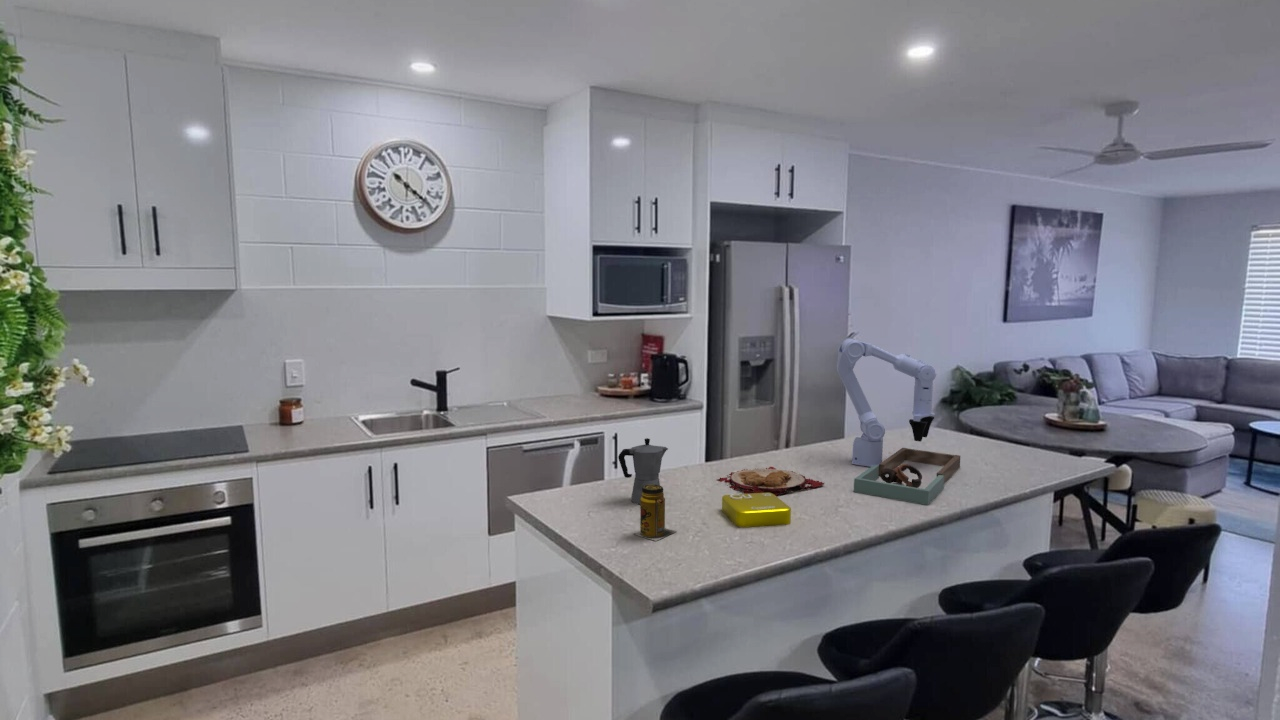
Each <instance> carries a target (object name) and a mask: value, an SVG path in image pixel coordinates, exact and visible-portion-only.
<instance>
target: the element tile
mask: <svg viewBox="0 0 1280 720" xmlns="http://www.w3.org/2000/svg"><path fill="white" fill-rule="evenodd" d="M721 512H722V513H723V514H724V515H725V516H726V517H727V518H728V519H729V520H730V521H731V522H732V523H733V525H734V526H736V527H738V528H759V527H772V526H787V525H790V524H791V523H792V522H791V521H792V519H791V517H792V508H791V507H790V505H788V504H786V503H785V502H784V501H783V500H782V499H780V498H779V497H778V496H775V495H774V494H772V493H750V494H746V493H733V494H723V496H722V497H721Z"/></svg>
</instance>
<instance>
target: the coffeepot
mask: <svg viewBox="0 0 1280 720" xmlns="http://www.w3.org/2000/svg"><path fill="white" fill-rule="evenodd" d="M650 442H651V438H647V437H646V438H644V444H640V445H637V446H633V447H630V448H624V449H622V451H621V452H620V453H619V455H618V457H617V458H618V462H619V464H620V467H621V469H622V473H623V475H624V478H627V479H628V478H632V476H633V473H628V467H627V464H626V463H627V462H626V459H625V457H626V456H631V457H632V461H633V469H634V474H635V476H634V480H633V486H632V492H631V497H630V498H631V503H633V504H636V505H639V506H641V505H640V501H641V497H642V487H643V486H645V485H660V486H661V483H660V476H659V474H660V473H661V467H662V461H663V460H662V459H663V457H664V455H665V453H666V452H667V451H668V450H669V448H668V447H666V446H662V445H653V444H650Z"/></svg>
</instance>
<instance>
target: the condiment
mask: <svg viewBox="0 0 1280 720" xmlns="http://www.w3.org/2000/svg"><path fill="white" fill-rule="evenodd" d="M664 496H665V495H664V487H663V486H662V485H661V484H660V485H645V486H643V487H642V497H641V501H640V505H639V506H640V509H639V510H640V517H639V519H640V522H639V523H640V525H639V526H640V527H639V529H640V531H637V532H634V535H635V536H638V537H641V538H643V539H648V540H652V541H654V542H657V541H660V540H662V539H664V538H666V537H668V536H669V535H672V534H674V533H676V532H677V530H673V529H670V528H666V523H665V522H666V498H665V497H664Z"/></svg>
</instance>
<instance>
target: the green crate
mask: <svg viewBox="0 0 1280 720" xmlns="http://www.w3.org/2000/svg"><path fill="white" fill-rule="evenodd" d="M879 477H880V476H879V466H878V465H873V466H872V467H868V468H867V469H866V470H865V471H863V472H862V473H860V474H859V475H857V476H856V477H854V479H853V492H854V493H859V494H865V495H870V496H876V497H881V498H886V499H890V500H891V499H892V500H896V501H897V500H898V501H903V502H909V503H914V504H919V505H924V506H925V505H926V506H929V505H930V504H931V503H932V502H933V500H934V499H935V498H936V497H937V496H938V495H939V494H940V493H941V492H942V491H943V489H944V487H945V485H944V484H945V483H944V476H942V475H938V476H937V475H936V477H935V478H934V479H933V480H931V482H930V483H929V484H928V485H927V486H925V488H921V487H918V488H915V487H909V486H906V485H902V484H898V483H886V482H885V481H879V480H877V479H879ZM941 490H942V491H941Z"/></svg>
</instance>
